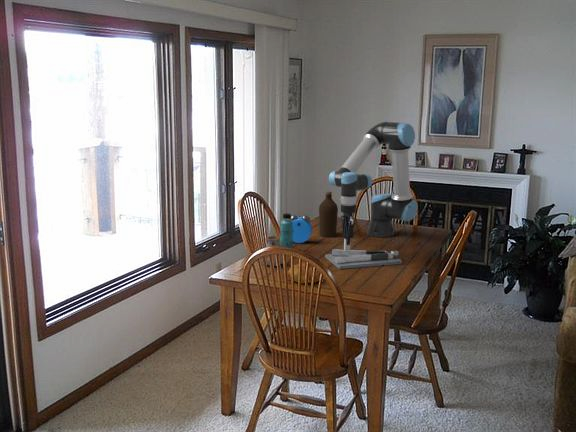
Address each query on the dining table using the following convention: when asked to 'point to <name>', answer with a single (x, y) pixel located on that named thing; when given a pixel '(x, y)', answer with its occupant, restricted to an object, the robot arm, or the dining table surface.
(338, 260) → the tongs fixed arm
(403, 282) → the dining table surface
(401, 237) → the dining table surface
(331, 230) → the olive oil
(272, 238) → the coffee pot
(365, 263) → the slate board
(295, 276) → the croissant
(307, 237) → the alarm clock
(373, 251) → the tong arm
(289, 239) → the beverage bottle
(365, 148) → the robot arm
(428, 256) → the dining table surface
